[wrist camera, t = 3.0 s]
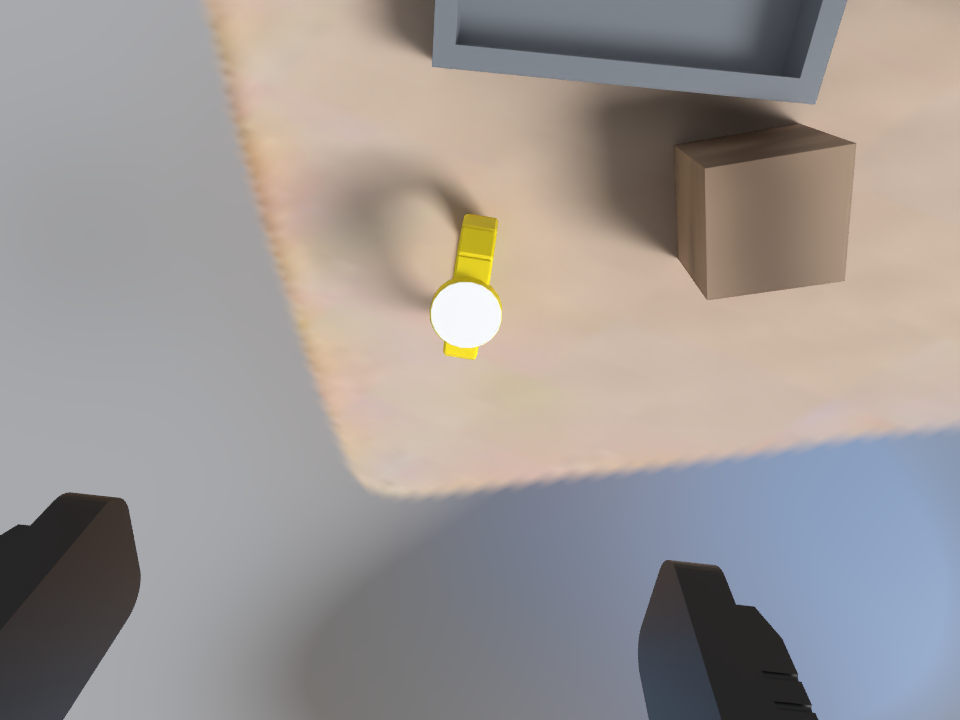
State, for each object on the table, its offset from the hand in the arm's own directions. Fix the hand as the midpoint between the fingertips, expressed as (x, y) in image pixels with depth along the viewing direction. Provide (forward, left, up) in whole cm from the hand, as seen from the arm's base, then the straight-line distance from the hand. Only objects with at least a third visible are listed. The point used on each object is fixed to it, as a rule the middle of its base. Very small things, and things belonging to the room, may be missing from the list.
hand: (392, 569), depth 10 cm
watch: (0, +3, -21) cm, 22 cm away
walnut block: (-11, -2, -21) cm, 24 cm away
